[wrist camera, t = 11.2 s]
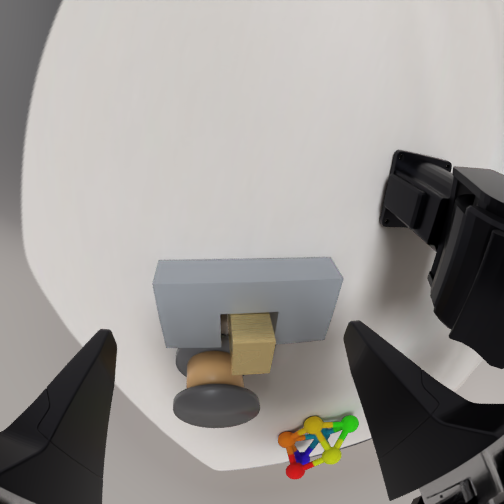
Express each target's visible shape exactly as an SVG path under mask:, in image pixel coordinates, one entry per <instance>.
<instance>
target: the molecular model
mask: <svg viewBox="0 0 504 504" xmlns="http://www.w3.org/2000/svg"><path fill="white" fill-rule="evenodd" d="M358 425H359V422H358V419H357V418H356V417H355V416H352V415H348V416H346V417H344V418H343V419H342V420H341V422H323V421H322V420H321V419H320V418H319V417H316V416H312V417H309V418H308V419H306V421H305V422H304V428H302V429H300V430H298V431H297V432H295V433H292V432H283V433H281V434H280V435H279V437H278V443H279V445H280V446H281V447H284V448H286V450H287V453H288V457H289V461H290V465H289V466H288V467H287V468H286V475H287V476H288V477H289V478H291V479H299V478H301V477H302V476H303V475H304V473H305V470H307V469H309V468H312V467H314V466H317V465H319V464H321V463H324V462H325V463H326V464H335V463H337V462H338V461H339V460H340V458H341V451H340V450H339V448H340V447H341V445H342V443H343V441H344V439H345V438H346V436H347V434H348V433H351V432H353V431H355V430H356V429H357V427H358ZM327 428H331V429H327ZM341 430H342V433H341V434H340V436H339V438H338V440H337V442H336V443H335V445H334V447H331V446H330V444H329V442H328V438H329V436H330V434H332V433H335V432H338V431H341ZM305 433H309V434H306V435H303V434H305ZM309 439H314V440H313V442H312V443H311V444H310V446H309V447H308V448H307V449H306V451H305V452H299V451H298V450H297V448H296V447H295V445H294V444H295V442H296V441H302V440H309ZM318 443H321V445H322V447H323V448H324V450H325V451H324V452H323V454H322V457H321V458H319V459H317V460H314V461H312V462H309V461H310V457H309V454H310V453H311V452H312V450H313V449H314V448H315V447H316V445H317V444H318ZM294 455H295V456H294Z"/></svg>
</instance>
